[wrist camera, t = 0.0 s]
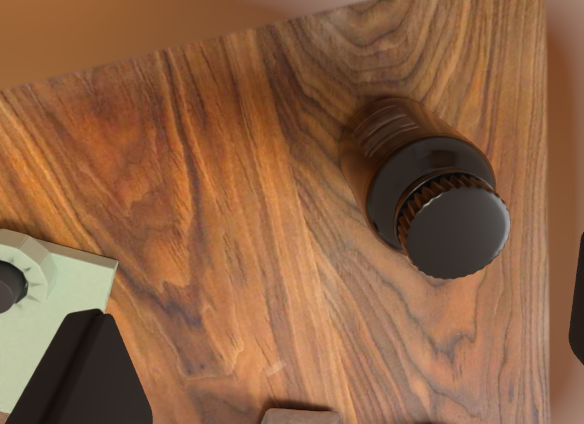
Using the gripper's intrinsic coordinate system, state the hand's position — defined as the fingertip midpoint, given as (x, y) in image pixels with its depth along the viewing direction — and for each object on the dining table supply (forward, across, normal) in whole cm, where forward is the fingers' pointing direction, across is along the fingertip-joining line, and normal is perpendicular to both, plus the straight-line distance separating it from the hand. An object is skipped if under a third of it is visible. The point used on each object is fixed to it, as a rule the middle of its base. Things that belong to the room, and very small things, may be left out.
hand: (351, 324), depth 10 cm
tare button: (+20, +20, +8) cm, 30 cm away
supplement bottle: (+22, -6, +5) cm, 24 cm away
